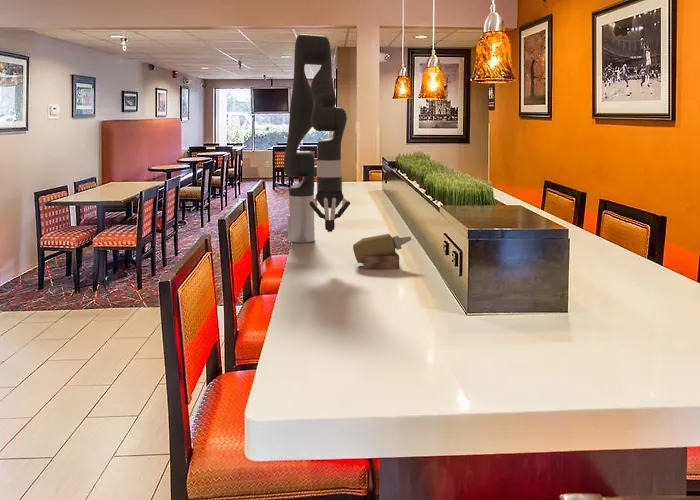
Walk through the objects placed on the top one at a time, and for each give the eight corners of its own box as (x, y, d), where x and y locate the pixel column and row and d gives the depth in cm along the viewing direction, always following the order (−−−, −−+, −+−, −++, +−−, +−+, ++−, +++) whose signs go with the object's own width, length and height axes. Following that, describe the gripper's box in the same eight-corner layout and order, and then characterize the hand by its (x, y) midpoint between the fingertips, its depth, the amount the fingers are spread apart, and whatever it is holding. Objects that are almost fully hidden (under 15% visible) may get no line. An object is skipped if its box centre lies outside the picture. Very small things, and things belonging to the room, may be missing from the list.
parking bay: (364, 269, 181) (364, 256, 180) (361, 260, 192) (361, 248, 191) (399, 268, 181) (399, 256, 180) (394, 260, 192) (394, 248, 191)
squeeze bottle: (353, 246, 190) (408, 231, 189) (359, 269, 187) (415, 254, 186) (349, 237, 182) (406, 221, 181) (356, 262, 180) (413, 245, 178)
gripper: (307, 176, 175) (308, 234, 179) (352, 176, 176) (352, 233, 180) (307, 174, 183) (308, 229, 186) (350, 173, 184) (350, 228, 187)
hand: (329, 231), depth 183 cm, fingers closed
